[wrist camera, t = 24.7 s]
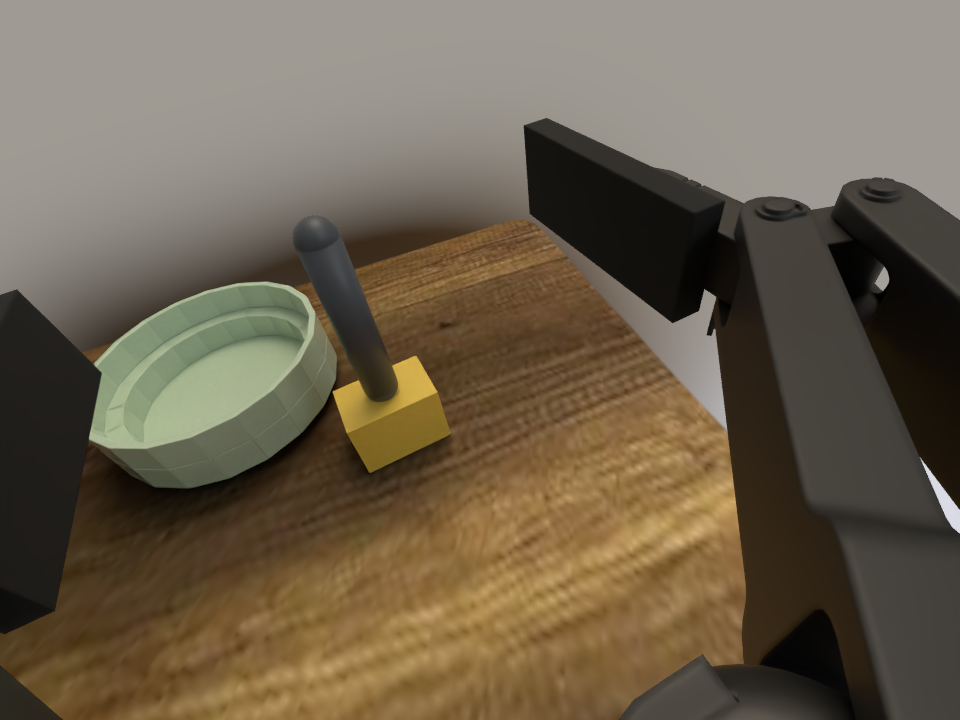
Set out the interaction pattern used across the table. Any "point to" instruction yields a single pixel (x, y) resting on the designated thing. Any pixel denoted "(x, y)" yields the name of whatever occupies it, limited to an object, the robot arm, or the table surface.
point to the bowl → (212, 385)
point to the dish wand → (368, 359)
